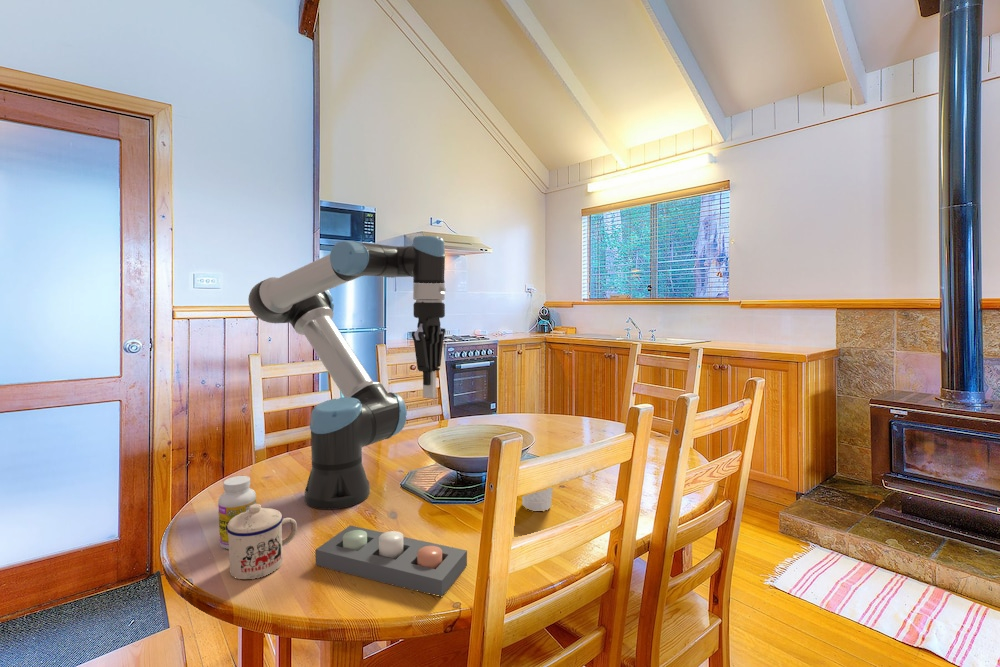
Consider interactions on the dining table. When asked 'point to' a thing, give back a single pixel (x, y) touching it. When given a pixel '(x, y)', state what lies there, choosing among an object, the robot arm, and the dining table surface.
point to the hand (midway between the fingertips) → (429, 397)
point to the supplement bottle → (233, 503)
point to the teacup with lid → (257, 542)
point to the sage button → (355, 539)
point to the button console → (393, 563)
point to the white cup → (538, 500)
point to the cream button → (391, 544)
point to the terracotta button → (429, 556)
